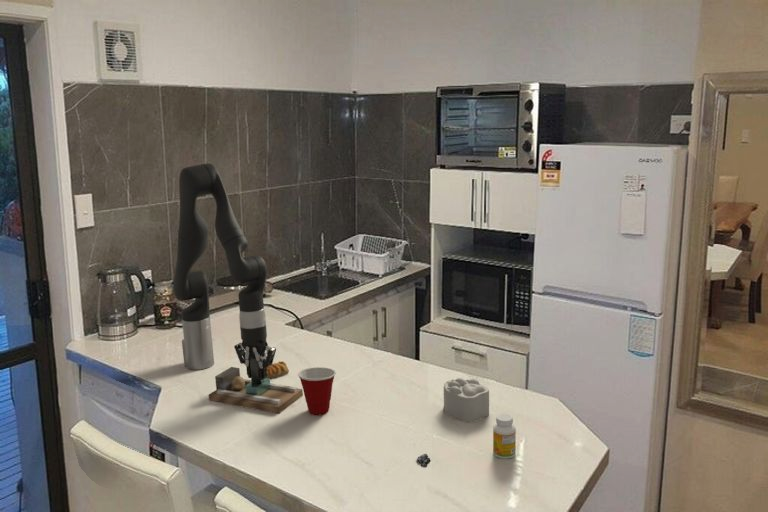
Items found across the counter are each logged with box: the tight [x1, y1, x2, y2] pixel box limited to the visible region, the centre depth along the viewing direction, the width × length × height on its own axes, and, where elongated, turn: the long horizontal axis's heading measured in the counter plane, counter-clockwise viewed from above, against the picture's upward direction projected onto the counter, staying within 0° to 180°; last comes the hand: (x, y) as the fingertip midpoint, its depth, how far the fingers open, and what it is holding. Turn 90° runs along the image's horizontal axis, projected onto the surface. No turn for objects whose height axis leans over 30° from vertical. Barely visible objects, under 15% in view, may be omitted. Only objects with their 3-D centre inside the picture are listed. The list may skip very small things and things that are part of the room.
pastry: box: [266, 361, 290, 379], centre depth 210 cm, size 9×7×4 cm
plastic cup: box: [297, 366, 337, 416], centre depth 181 cm, size 11×11×12 cm
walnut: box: [232, 375, 245, 390], centre depth 194 cm, size 4×4×4 cm
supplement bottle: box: [492, 413, 517, 460], centre depth 155 cm, size 5×5×10 cm
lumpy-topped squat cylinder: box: [443, 377, 490, 423], centre depth 179 cm, size 10×13×9 cm
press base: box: [208, 366, 304, 414], centre depth 192 cm, size 25×13×7 cm, turn 66°
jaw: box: [245, 356, 271, 396], centre depth 191 cm, size 4×7×11 cm, turn 156°
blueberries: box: [415, 453, 431, 468], centre depth 154 cm, size 7×8×2 cm
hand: (257, 377), depth 191 cm, fingers closed on jaw, 3 cm apart
